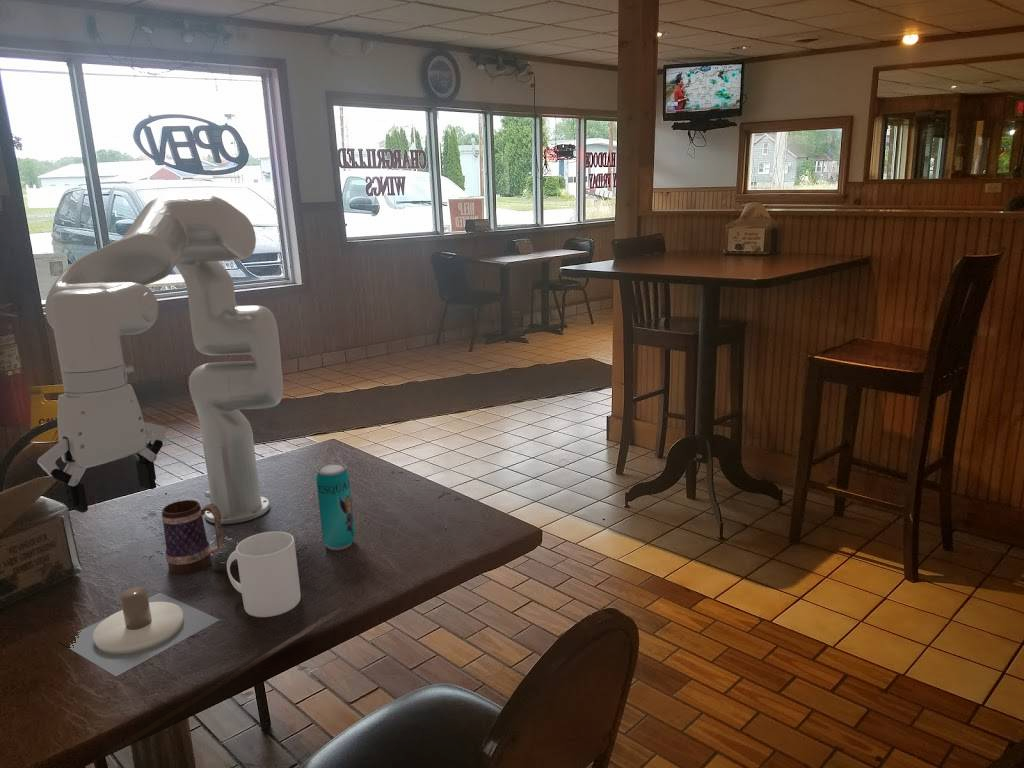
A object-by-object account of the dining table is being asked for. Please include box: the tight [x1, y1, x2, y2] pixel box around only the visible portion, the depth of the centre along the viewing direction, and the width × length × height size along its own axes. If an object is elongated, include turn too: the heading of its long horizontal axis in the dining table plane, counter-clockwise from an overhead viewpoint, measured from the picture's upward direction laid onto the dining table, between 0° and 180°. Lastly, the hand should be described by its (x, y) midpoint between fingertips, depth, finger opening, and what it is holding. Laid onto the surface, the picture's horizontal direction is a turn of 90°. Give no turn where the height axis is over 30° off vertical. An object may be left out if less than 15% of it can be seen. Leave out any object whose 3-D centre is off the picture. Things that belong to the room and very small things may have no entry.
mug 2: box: [226, 531, 302, 618], centre depth 116 cm, size 9×12×11 cm
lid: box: [93, 586, 184, 654], centre depth 110 cm, size 12×12×6 cm
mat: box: [68, 592, 221, 678], centre depth 111 cm, size 16×16×1 cm
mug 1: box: [161, 499, 225, 576], centre depth 129 cm, size 10×7×12 cm
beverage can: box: [315, 462, 355, 551], centre depth 135 cm, size 6×6×15 cm
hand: (115, 498), depth 105 cm, fingers open, 9 cm apart
